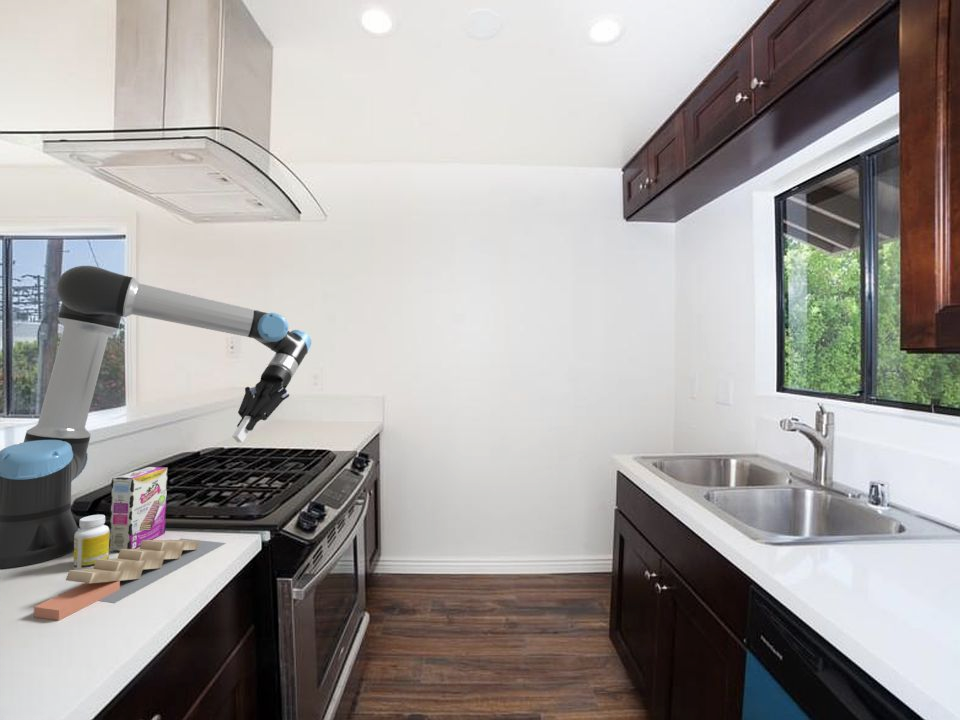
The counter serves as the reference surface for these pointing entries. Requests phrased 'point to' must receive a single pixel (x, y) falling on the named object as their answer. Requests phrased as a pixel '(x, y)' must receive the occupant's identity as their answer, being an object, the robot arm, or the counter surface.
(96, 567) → the domino
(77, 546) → the supplement bottle
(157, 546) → the domino
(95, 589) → the domino
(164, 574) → the mat
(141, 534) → the candy bar box
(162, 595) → the counter surface
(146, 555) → the domino
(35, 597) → the counter surface
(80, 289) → the robot arm
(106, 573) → the domino
